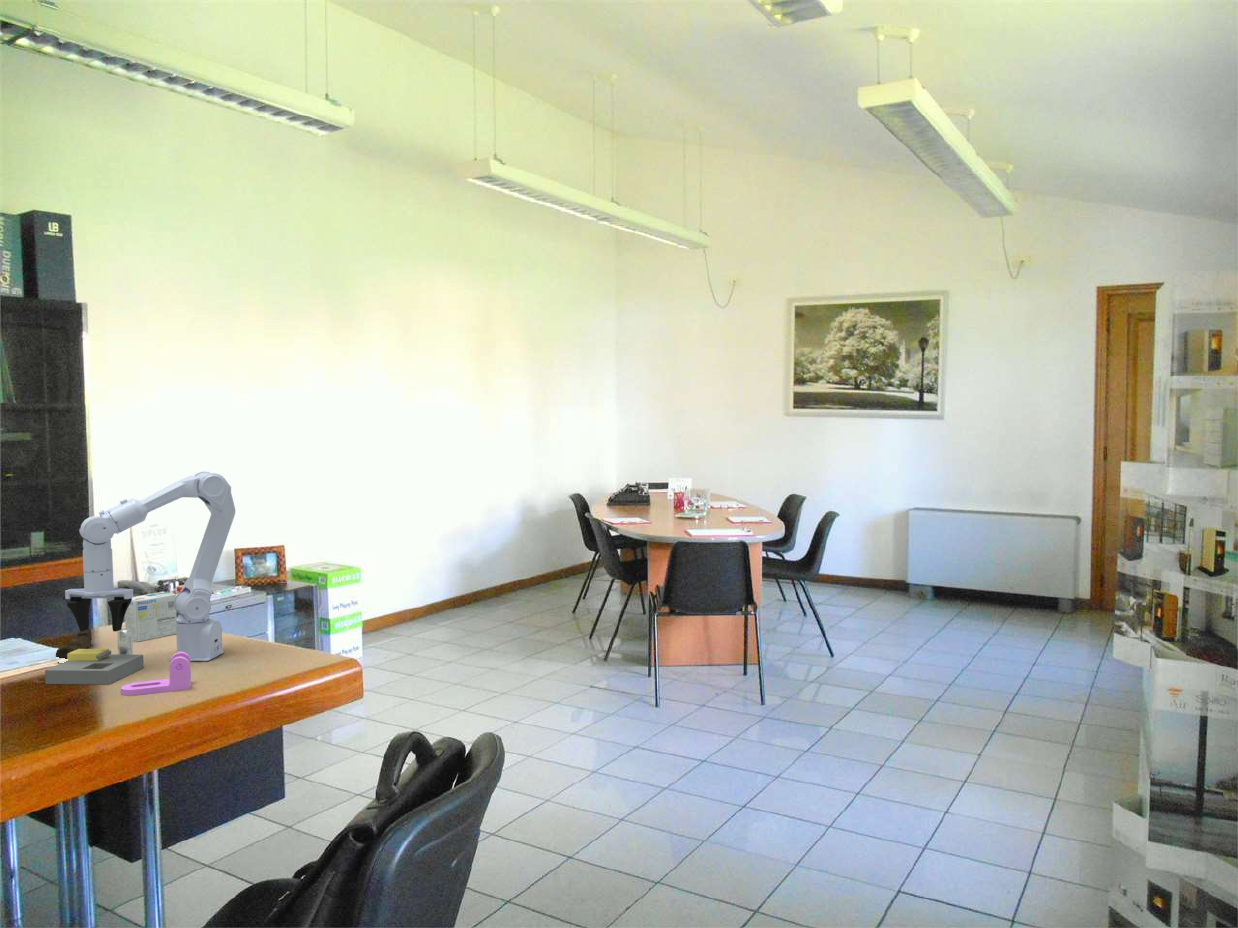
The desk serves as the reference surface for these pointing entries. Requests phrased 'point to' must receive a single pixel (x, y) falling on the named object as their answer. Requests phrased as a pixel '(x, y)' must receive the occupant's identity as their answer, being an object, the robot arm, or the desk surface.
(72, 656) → the latch flap
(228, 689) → the desk surface
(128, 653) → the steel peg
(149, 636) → the light bulb box
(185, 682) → the bracket
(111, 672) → the plate
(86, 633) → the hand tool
